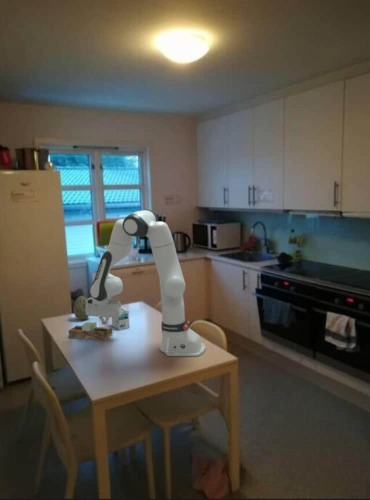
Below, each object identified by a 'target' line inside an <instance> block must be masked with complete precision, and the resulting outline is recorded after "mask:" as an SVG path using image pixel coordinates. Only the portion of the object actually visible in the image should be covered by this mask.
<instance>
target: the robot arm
mask: <svg viewBox="0 0 370 500" xmlns="http://www.w3.org/2000/svg"><path fill="white" fill-rule="evenodd" d="M171 232H172V231H171V230H170V227H169V226H168V224H167V222H165V221H159V217H158V214H157V213H156V212H155V211H153V210H151V209H142V210H137V211H135V212H132V213H130V214H128V215H127V216H125V218H120V219H117V220H116V221H115V223H114V226H113V228H112V231H111V235H110V238H109V239H110V240H109V244H108V246H107V248H106V250H105V252H104V253H103V254H102V255H101V258H100V260H99V264H98V266H97V270H95V271H94V272H93V273H92V283H91V285H90V288H89V294H90V296H91V297H89V298H87V300H86V303H87V304H86V315H87V316H89V317H98V319H99V320H100V322H101V325H108V324H109V322H108V321H109V319H110V318H112V317H120V316H121V315H122V309H121V307H122V303H121V301H119V299H112V297H116V296H117V295H120V294H122V293H123V292H124V289H125V286H124V285H125V284H124V281H123V279H122V278H121V277H119V276H116V275H113V274H111V273H110V271H111V270H112V268H113V267H114V265H116V264H118V263H119V262H120V261H122V260H123V259H126V258H127V257H128V256H129V254H130V252H131V251H132V248H133V243H134V237H135V238H136V237H139V238H144V237H146V238H148V240H149V244H150V249H151V252H152V256H153V260H154V263H155V266H156V270H157V271H156V272H157V273H158V278H159V291H160V299H161V301H160V303H161V325H160V326H161V336H162V337H161V343H160V348H159V350H160V352H162V353H164V354H165V355H166V356H168V357H199V356H201V355H202V354H204V352H205V351H206V344H205V343H203V342H202V341H201V337H200V334H198V333H197V332H195V331H194V330H192V329H191V328H190V320H188V321H186V319H185V318H186V317H185V316H186V314H185V302H184V293H185V291H186V282H185V281H186V280H185V278H184V277H185V276H184V275H183V271H182V267H181V264H180V262H179V258H178V253H177V250H176V246H175V242H174V239H173V234H172V233H171ZM104 318H105V319H104Z"/></svg>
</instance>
